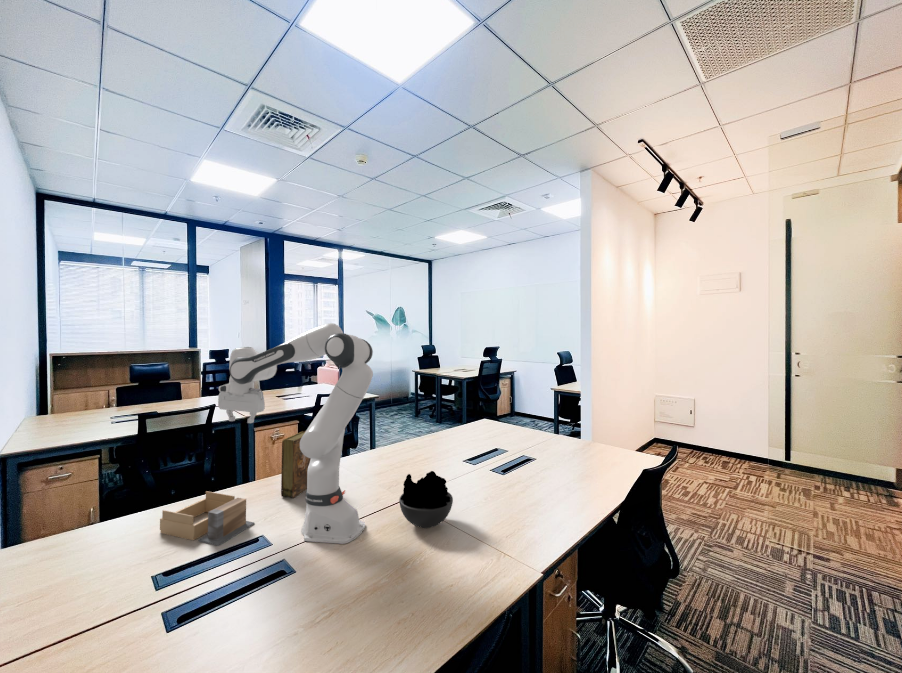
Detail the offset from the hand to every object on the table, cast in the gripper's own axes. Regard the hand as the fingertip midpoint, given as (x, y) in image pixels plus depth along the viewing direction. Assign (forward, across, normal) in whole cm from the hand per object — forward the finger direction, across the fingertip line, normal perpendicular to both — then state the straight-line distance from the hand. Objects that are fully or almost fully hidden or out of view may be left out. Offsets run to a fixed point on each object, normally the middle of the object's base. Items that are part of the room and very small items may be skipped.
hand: (241, 421), depth 148 cm
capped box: (+34, -10, +15) cm, 39 cm away
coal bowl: (+35, -75, -12) cm, 84 cm away
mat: (+35, -10, +15) cm, 39 cm away
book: (+35, -10, -22) cm, 43 cm away
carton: (+35, +4, +14) cm, 38 cm away
